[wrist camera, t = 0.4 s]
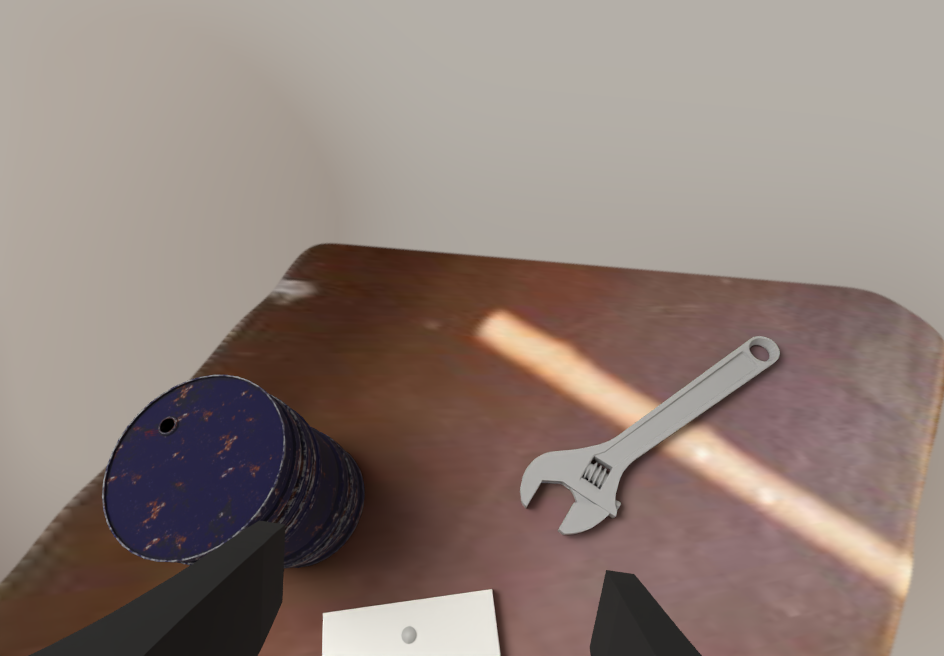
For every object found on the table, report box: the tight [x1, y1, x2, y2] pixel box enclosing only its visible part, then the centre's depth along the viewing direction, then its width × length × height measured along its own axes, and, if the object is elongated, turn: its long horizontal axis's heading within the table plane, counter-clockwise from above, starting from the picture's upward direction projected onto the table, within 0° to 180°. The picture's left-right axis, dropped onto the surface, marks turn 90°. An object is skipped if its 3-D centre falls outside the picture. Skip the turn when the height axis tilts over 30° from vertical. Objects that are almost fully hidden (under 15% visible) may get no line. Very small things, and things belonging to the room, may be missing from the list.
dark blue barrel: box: [102, 375, 365, 569], centre depth 31 cm, size 10×10×15 cm
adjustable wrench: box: [520, 336, 780, 535], centre depth 38 cm, size 25×6×2 cm, turn 118°
